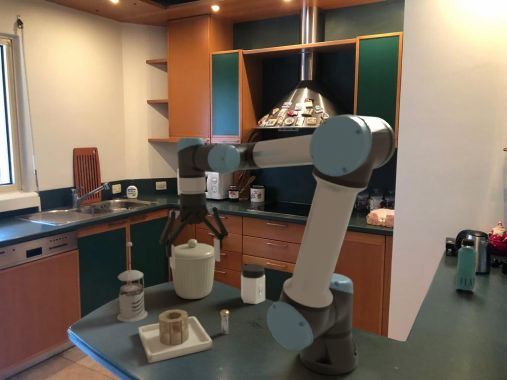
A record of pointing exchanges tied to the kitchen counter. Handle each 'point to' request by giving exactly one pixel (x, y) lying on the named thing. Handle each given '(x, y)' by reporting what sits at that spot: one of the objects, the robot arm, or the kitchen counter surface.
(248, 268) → the jar
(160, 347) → the tray
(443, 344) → the kitchen counter surface
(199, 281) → the canister
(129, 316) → the french press
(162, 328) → the ring
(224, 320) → the stake
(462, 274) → the beverage bottle
